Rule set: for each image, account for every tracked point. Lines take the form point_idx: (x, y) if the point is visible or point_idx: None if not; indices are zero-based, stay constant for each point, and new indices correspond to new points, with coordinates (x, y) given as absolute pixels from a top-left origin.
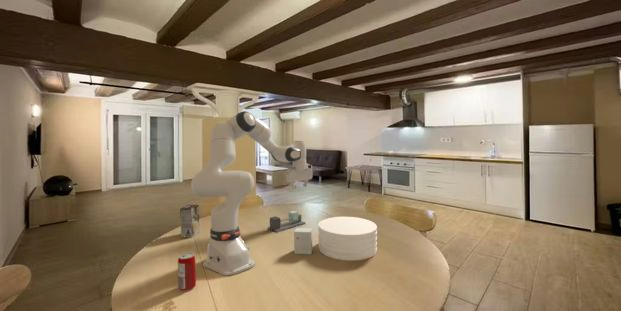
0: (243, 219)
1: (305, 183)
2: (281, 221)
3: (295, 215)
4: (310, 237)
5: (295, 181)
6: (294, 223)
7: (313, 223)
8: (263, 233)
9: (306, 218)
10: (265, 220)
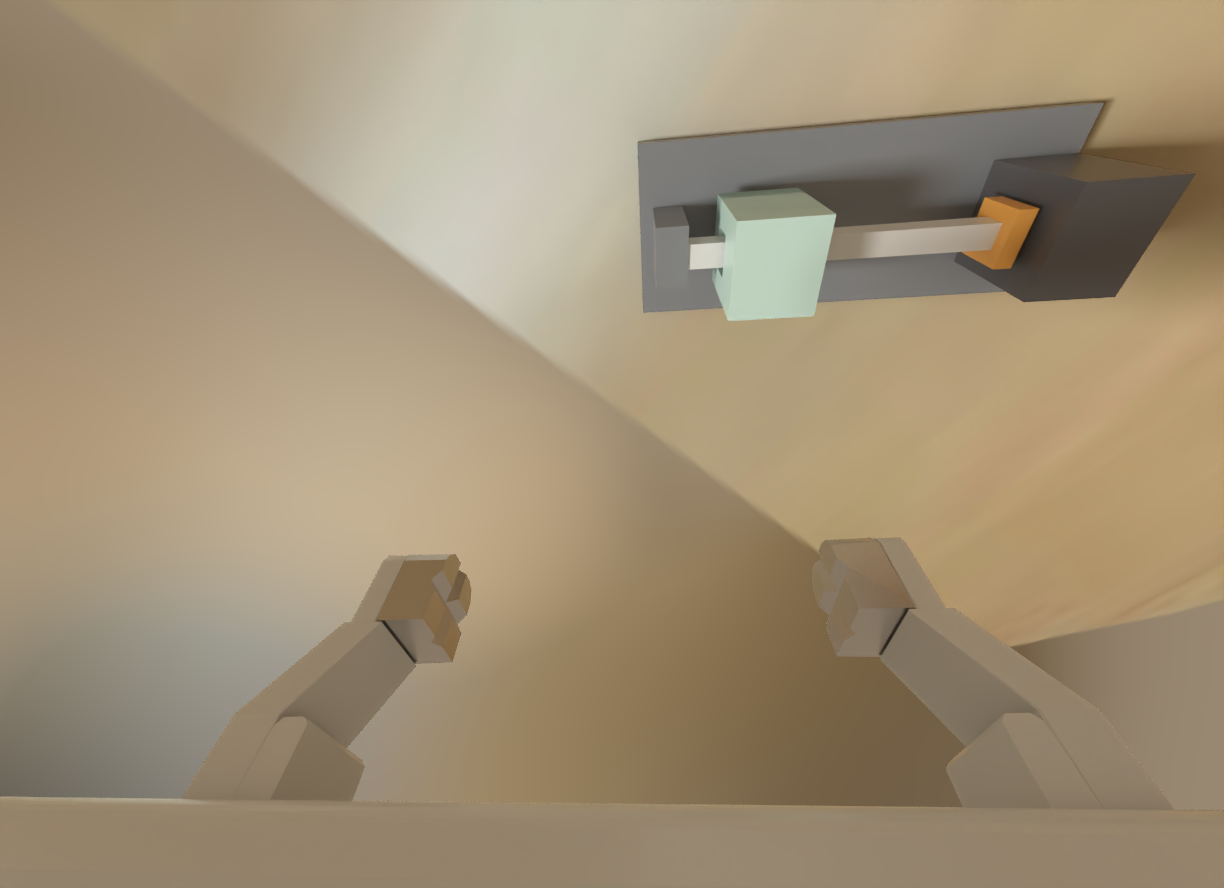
0: None
1: (379, 656)
2: (965, 219)
3: (778, 207)
4: None
5: (1077, 817)
6: None
7: (545, 82)
8: None
9: (511, 304)
10: (811, 467)
